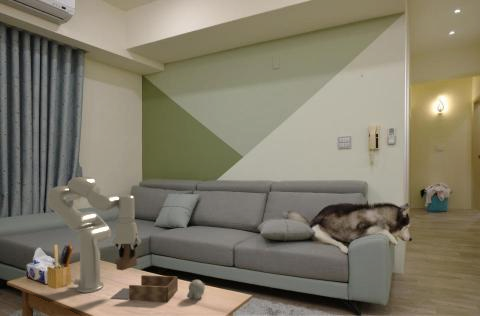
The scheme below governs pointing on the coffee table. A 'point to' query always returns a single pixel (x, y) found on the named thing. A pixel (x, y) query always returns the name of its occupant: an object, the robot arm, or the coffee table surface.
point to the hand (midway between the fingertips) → (127, 256)
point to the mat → (122, 294)
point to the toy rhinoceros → (196, 289)
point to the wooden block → (126, 259)
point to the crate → (154, 289)
